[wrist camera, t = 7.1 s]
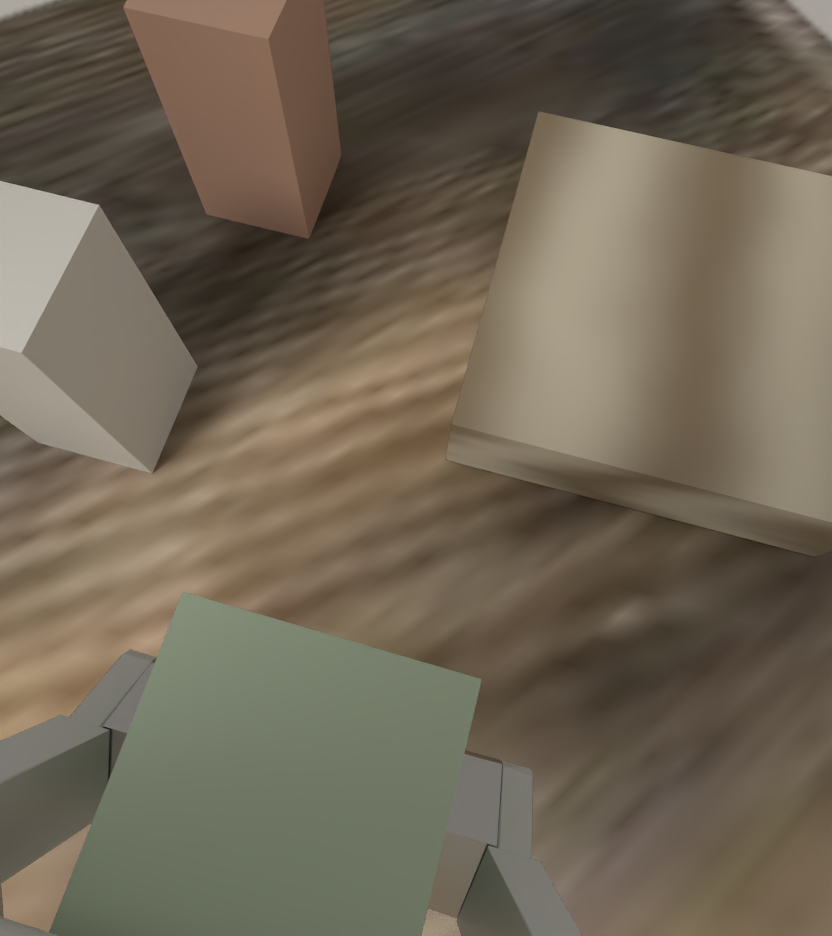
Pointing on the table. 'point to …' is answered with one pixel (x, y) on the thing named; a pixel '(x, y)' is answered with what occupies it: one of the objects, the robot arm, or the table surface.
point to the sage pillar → (273, 787)
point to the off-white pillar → (83, 334)
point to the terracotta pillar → (247, 103)
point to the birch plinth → (660, 335)
